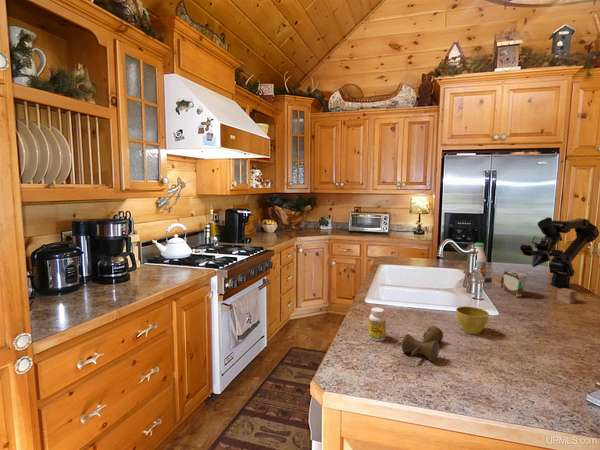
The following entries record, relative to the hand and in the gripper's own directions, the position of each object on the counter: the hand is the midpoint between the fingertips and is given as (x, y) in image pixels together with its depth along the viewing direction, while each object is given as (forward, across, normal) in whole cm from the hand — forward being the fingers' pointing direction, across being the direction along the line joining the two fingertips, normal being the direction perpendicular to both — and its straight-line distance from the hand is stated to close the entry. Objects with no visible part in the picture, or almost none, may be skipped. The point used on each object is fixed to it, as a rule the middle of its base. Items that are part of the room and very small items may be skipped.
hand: (533, 266), depth 164 cm
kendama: (+73, +25, -56) cm, 95 cm away
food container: (+16, 0, +1) cm, 16 cm away
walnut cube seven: (+8, +15, +9) cm, 19 cm away
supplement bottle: (+78, +12, -61) cm, 99 cm away
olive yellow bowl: (+54, +21, -37) cm, 69 cm away
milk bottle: (+14, -24, +4) cm, 28 cm away
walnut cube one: (+12, -13, +6) cm, 19 cm away
